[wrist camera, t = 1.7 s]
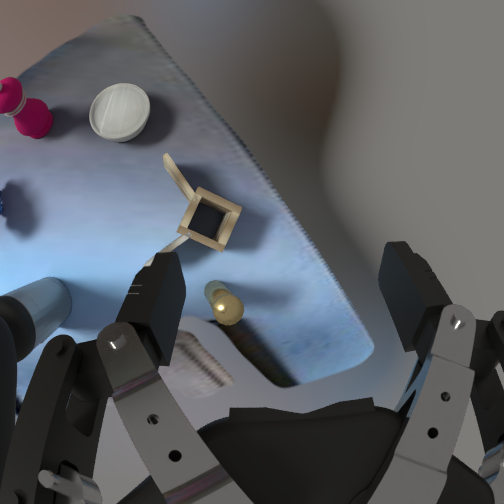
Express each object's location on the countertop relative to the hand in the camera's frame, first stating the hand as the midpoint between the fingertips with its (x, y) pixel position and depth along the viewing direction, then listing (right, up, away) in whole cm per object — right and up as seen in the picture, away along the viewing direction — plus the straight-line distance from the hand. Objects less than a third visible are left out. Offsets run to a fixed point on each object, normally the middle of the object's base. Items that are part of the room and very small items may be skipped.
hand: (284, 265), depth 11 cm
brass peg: (-8, -7, +44) cm, 45 cm away
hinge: (-14, +6, +41) cm, 44 cm away
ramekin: (-26, +25, +37) cm, 52 cm away
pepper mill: (-43, +26, +32) cm, 60 cm away
